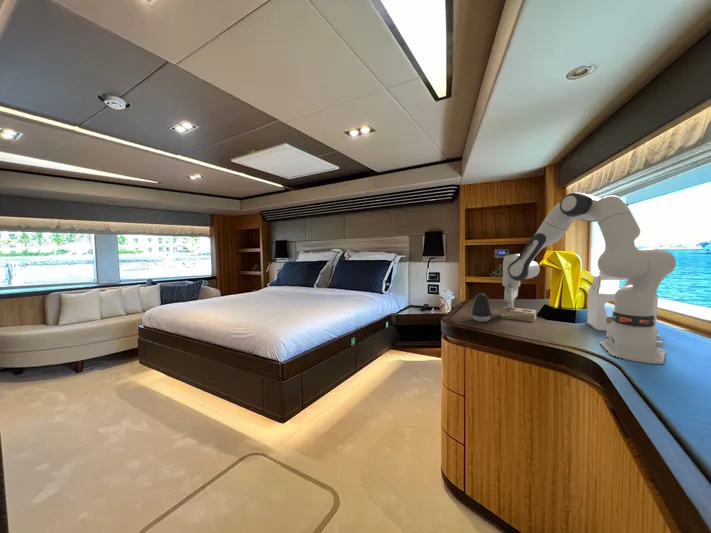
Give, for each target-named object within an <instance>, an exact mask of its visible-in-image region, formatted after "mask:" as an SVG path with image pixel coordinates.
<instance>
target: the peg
mask: <svg viewBox="0 0 711 533" xmlns="http://www.w3.org/2000/svg"><path fill="white" fill-rule="evenodd" d="M514 302H515V299H514V300H513V301H512V308H508V310H514V308H515V306H514V305H515V303H514Z"/></svg>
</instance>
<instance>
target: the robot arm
mask: <svg viewBox="0 0 711 533" xmlns="http://www.w3.org/2000/svg"><path fill="white" fill-rule="evenodd" d="M577 220H580V221H583V222H589V223H590V222H593V223H595V222H596V223H597V224H598V227H599V229H600V231H601V235H602V236H603V240H604V244H605V246H604V251H603V253H601V255H600V256H599V258H598V259H597V267H598V271H599V273H600V272H601V273H602V274H604V275H606V276H610V277H615V278H628V280H626V282H625V283H624V284H623V286H621V287H619V288H620V289H618V290H617V291H616V293H615V301H614V310H613V311H612V314H611V317H612V320H613V322H611V323H610V324H608V325H607V331H606V335H605V336H606V337H605V338H606V339H605V340H603V341H600V343H599V345H600V344H601V345H602V346H601V345H600V346H601V347H602V348H603V347H604V348H603V350H605V351H606V350H607V351H608V352H607V351H606V352H607V353H608V355H610V354H611V355H612V356H611V355H610V356H611V357H614V356H616V357H615V358H617V357H619V358H618V359H621V358H623V359H622V360H626V361H627V360H628V361H631V362H639V363H646V364H655V365H663V364H665V359H666V350H665V349H663V346H664V341H661V339H662V335H659V330H658V328H657V327H656V328H655V327H654V322H655V319H654V315H653V308H654V298H655V294H657V291H658V289H659V287H660V286H661V285H660V284H661V283H662V282H663V281H664V279H665V278H666V277H667V276H668V275H670V274H671V273H673V271H674V270H675V268H676V266H677V260H676V257H675V256H674V255H673V253H671V251H670V252H669V251H667V250H664V249H658V248H637V247H636V244H635V240H636V239H637V238H638V237H639V236H640V234H641V229H640V226H639V224H638V222H637V221H636V219H635V217H634V215H633V213H632V211H631V209H630V207H629V206H628V204H626V202H625V201H624V200H623V199H622V198H621V197H620V196H618V195H607V196H604V197H601V198H599V197H597V196H594V195H592V194H587V193H582V192H570V193H568V194H566V195H564V196H563V197H562V199H561V201H560V202H559V203H557V204H556V205H554V206H553V208H552V209H551V210H550V211H549V212H548V213H547V215H546V216H545V217H544V220H543V221H542V223H541V224H540V226H539V228H538V229H537V230H536V232H535V234H533V235H532V238H531V239H530V240H529V241H528V243H527V244H526V245H525V247H524V249H523V250H522V251H521V253H510V254H506V255H505V256H504V258H503V261H502V272H503V274H502V286H503V287H504V293H503V294H504V295H503V301H504V302H506V303H507V307H508V308H512V301H513V300H514V301H515V299H516V298H517V297H518V295H519V294H518V293H519V287H521V281H524V280H528V279H533V278H535V277H538V275H539V273H540V272H541V268H540V265H539V263H538V262H537V261H535V258H536V256H537V255H538V254H539V253H540V252H541V251H542V249H544V248H546V247H548V246H551V245H553V244H555V243H558V242H559V241H560V239H562V237H564V236H565V234H566V233H567V231H568V230H569V228H570V227H571V225H572V224H573V223H574V221H577Z"/></svg>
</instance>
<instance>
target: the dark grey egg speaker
mask: <svg viewBox="0 0 711 533" xmlns="http://www.w3.org/2000/svg"><path fill="white" fill-rule="evenodd" d="M490 303H491V302H490V300H489V298H488V296H487V294H485V293H483V292H480V293H478V294H476V296H475V297H474V298H473V303H472V304H471V309H470V310H471V312H470V313H471V317H472V319H473V320H474V321H476V322H479V323H485V322H489V321H490V319H491V317H492V315H493V314H492V308H491V304H490Z"/></svg>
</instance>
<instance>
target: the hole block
mask: <svg viewBox="0 0 711 533" xmlns="http://www.w3.org/2000/svg"><path fill="white" fill-rule="evenodd" d="M500 315H501V316H500V318H502V319H507V320H516V321H526V322H535V321H536V319H537V309H532V308H531V309H529V308H519V307H514V310H508V306H504V307H502V308H501V310H500Z"/></svg>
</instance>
